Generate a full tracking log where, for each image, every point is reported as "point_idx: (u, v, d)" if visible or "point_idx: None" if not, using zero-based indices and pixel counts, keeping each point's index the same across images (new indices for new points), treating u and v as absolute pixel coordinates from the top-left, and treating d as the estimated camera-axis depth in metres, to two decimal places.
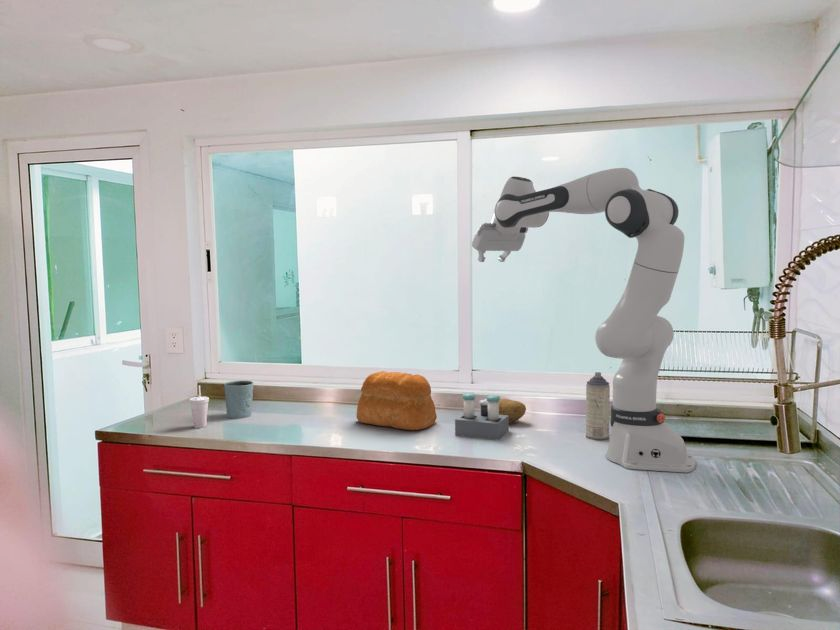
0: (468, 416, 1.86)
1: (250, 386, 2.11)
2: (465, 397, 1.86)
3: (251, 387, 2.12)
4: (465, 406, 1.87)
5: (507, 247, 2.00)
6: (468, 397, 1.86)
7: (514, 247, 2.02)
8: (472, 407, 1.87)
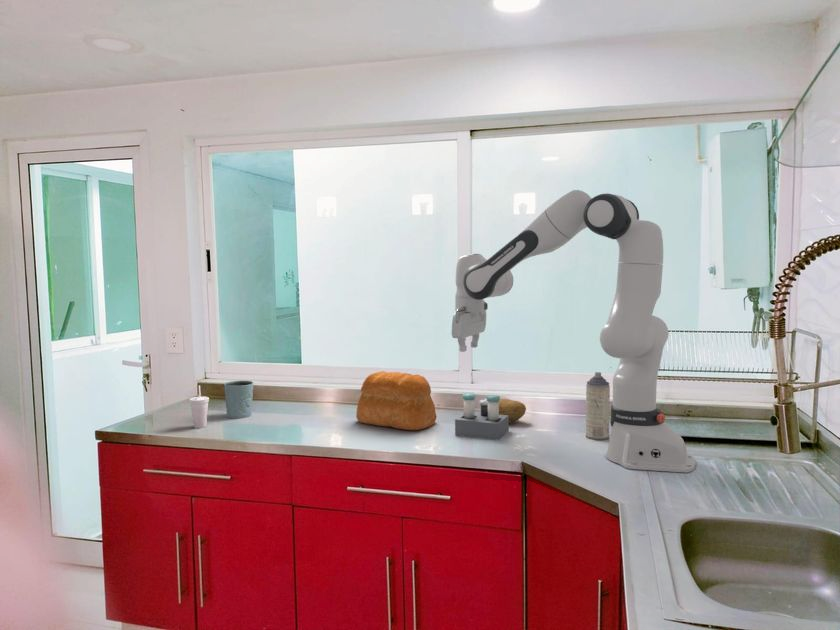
0: (468, 416, 1.86)
1: (250, 386, 2.11)
2: (465, 397, 1.86)
3: (251, 387, 2.12)
4: (465, 406, 1.87)
5: (478, 329, 1.89)
6: (468, 397, 1.86)
7: (481, 328, 1.92)
8: (472, 407, 1.87)
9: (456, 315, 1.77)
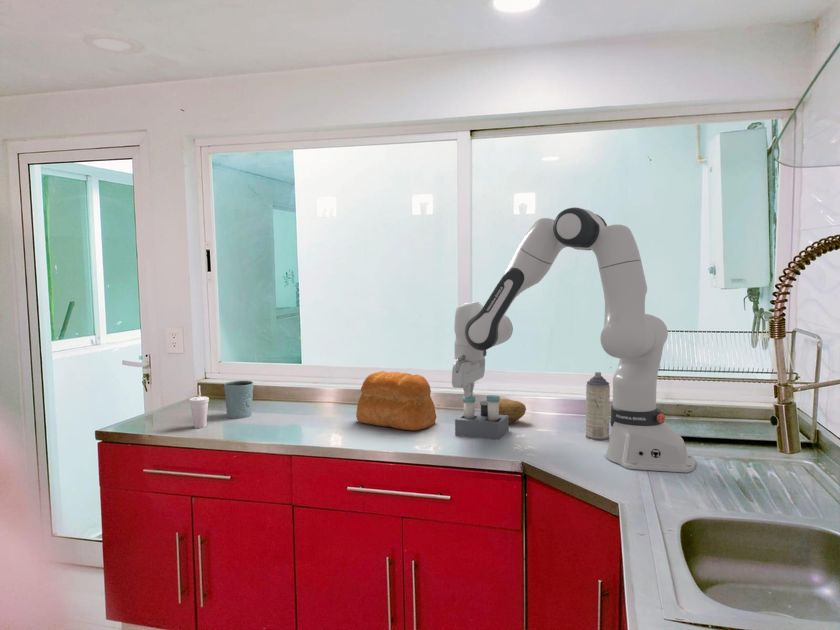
0: (468, 418, 1.87)
1: (250, 386, 2.11)
2: (465, 399, 1.86)
3: (251, 387, 2.12)
4: (465, 408, 1.87)
5: (477, 376, 1.89)
6: (468, 399, 1.86)
7: (481, 374, 1.92)
8: (472, 409, 1.87)
9: (456, 365, 1.77)
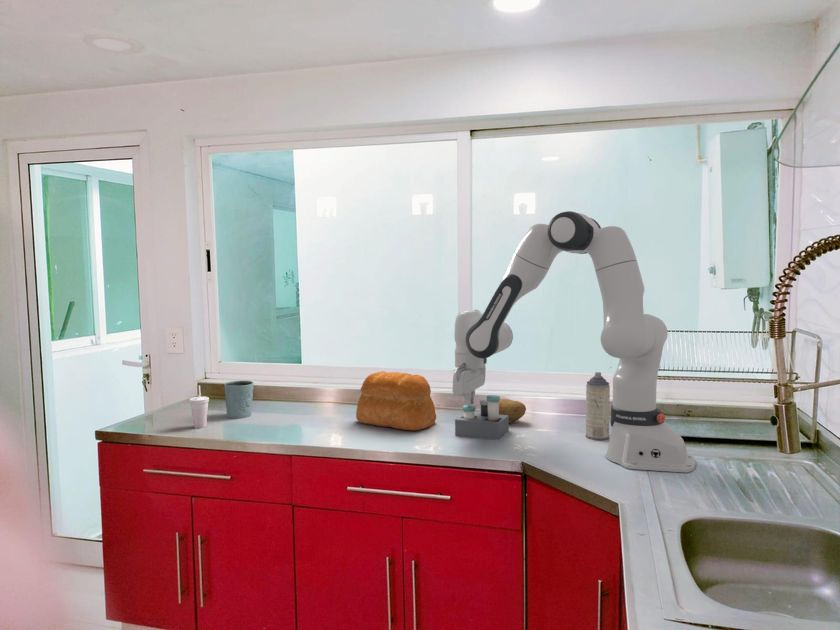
0: None
1: (250, 386, 2.11)
2: (465, 409, 1.86)
3: (251, 387, 2.12)
4: (465, 418, 1.87)
5: (478, 384, 1.89)
6: (468, 409, 1.86)
7: (481, 382, 1.92)
8: None
9: (457, 373, 1.77)
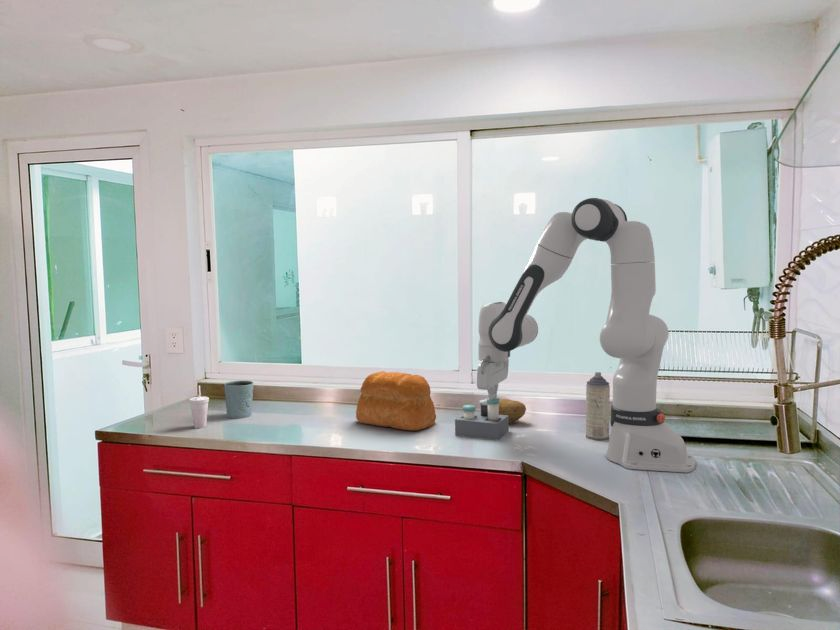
0: None
1: (250, 386, 2.11)
2: (465, 409, 1.86)
3: (251, 387, 2.12)
4: (465, 418, 1.87)
5: (501, 377, 1.86)
6: (468, 409, 1.86)
7: (504, 375, 1.89)
8: None
9: (481, 366, 1.74)
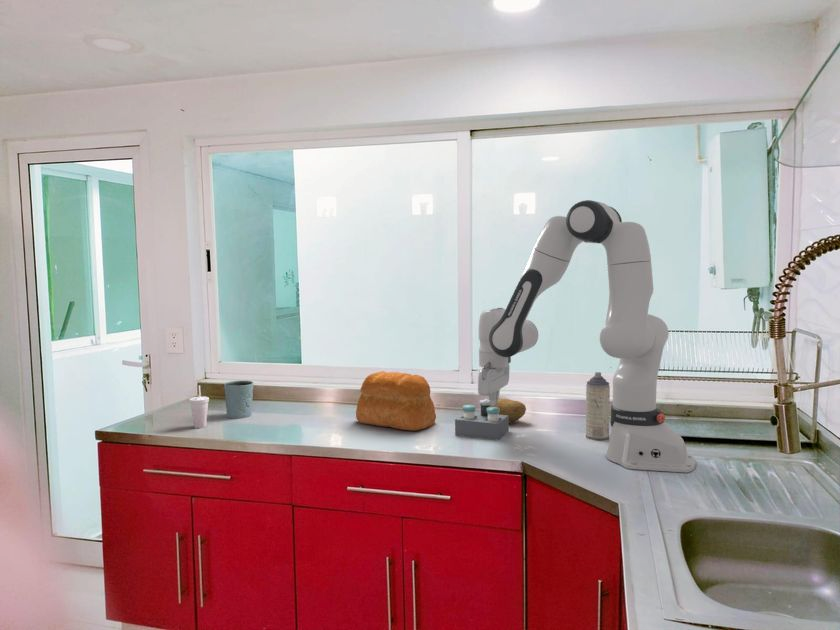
0: None
1: (250, 386, 2.11)
2: (465, 409, 1.86)
3: (251, 387, 2.12)
4: (465, 418, 1.87)
5: (502, 383, 1.86)
6: (468, 409, 1.86)
7: (505, 381, 1.89)
8: None
9: (482, 372, 1.74)
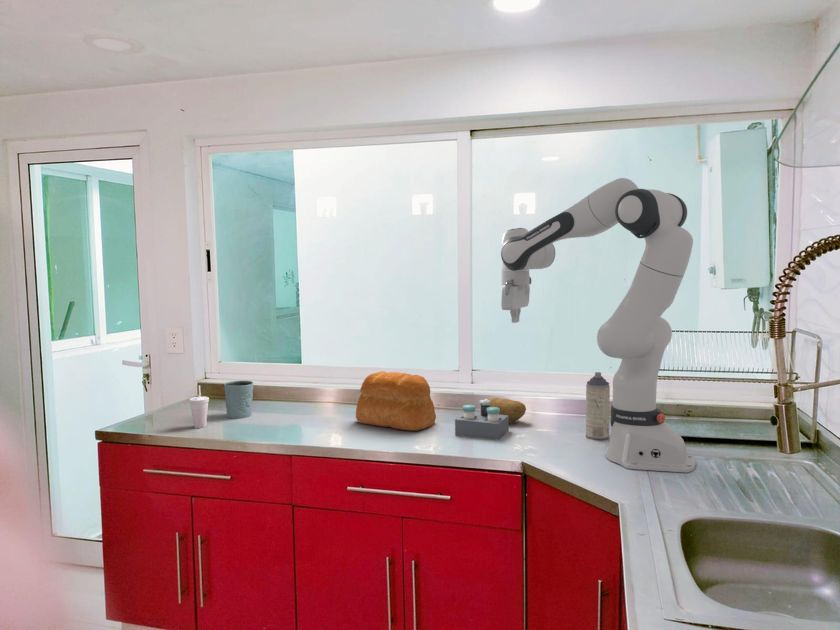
0: None
1: (250, 386, 2.11)
2: (465, 409, 1.86)
3: (251, 387, 2.12)
4: (465, 418, 1.87)
5: (523, 302, 1.94)
6: (468, 409, 1.86)
7: (526, 302, 1.97)
8: None
9: (506, 287, 1.82)
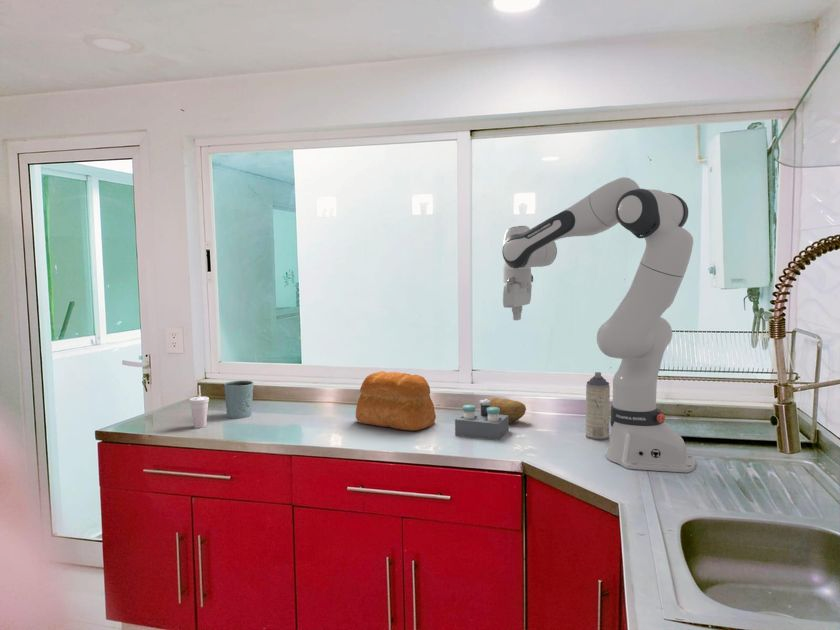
0: None
1: (250, 386, 2.11)
2: (465, 409, 1.86)
3: (251, 387, 2.12)
4: (465, 418, 1.87)
5: (525, 300, 1.94)
6: (468, 409, 1.86)
7: (528, 300, 1.97)
8: None
9: (508, 285, 1.82)
